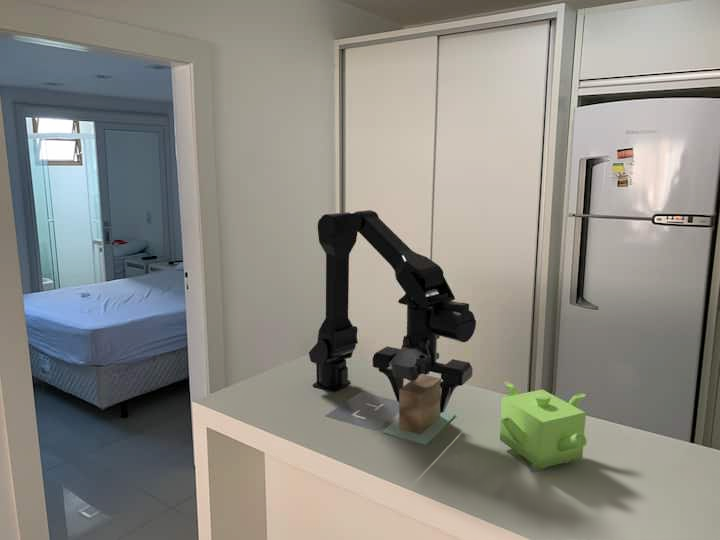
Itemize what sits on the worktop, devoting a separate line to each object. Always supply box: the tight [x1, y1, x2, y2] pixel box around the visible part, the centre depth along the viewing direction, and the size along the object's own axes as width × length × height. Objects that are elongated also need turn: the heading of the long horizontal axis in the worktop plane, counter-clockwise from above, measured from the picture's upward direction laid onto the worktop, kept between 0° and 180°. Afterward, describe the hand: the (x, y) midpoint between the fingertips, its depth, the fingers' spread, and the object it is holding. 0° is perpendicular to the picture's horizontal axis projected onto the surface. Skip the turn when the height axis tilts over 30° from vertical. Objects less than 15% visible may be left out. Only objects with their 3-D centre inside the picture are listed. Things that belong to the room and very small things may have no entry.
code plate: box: [324, 391, 399, 431], centre depth 117 cm, size 12×14×1 cm
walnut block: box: [398, 374, 442, 435], centre depth 110 cm, size 5×9×8 cm, turn 149°
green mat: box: [382, 410, 457, 446], centre depth 110 cm, size 9×14×1 cm, turn 148°
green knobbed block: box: [499, 381, 588, 472], centre depth 98 cm, size 15×14×11 cm
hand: (420, 406), depth 110 cm, fingers open, 9 cm apart
